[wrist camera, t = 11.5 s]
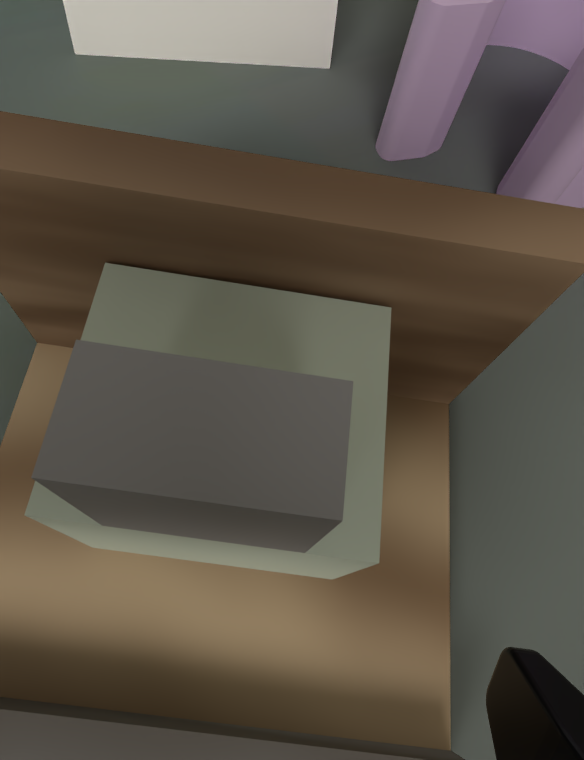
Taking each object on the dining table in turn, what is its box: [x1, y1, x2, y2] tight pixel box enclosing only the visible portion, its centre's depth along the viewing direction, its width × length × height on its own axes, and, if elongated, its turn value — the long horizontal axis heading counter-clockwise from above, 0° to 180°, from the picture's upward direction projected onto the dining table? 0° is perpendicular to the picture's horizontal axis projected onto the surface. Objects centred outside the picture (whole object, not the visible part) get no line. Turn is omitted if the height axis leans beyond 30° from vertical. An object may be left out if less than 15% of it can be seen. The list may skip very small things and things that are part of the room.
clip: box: [375, 0, 584, 208], centre depth 24 cm, size 20×12×7 cm, turn 142°
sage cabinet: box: [24, 263, 391, 580], centre depth 12 cm, size 6×7×10 cm
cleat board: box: [0, 111, 584, 760], centre depth 13 cm, size 13×14×9 cm
